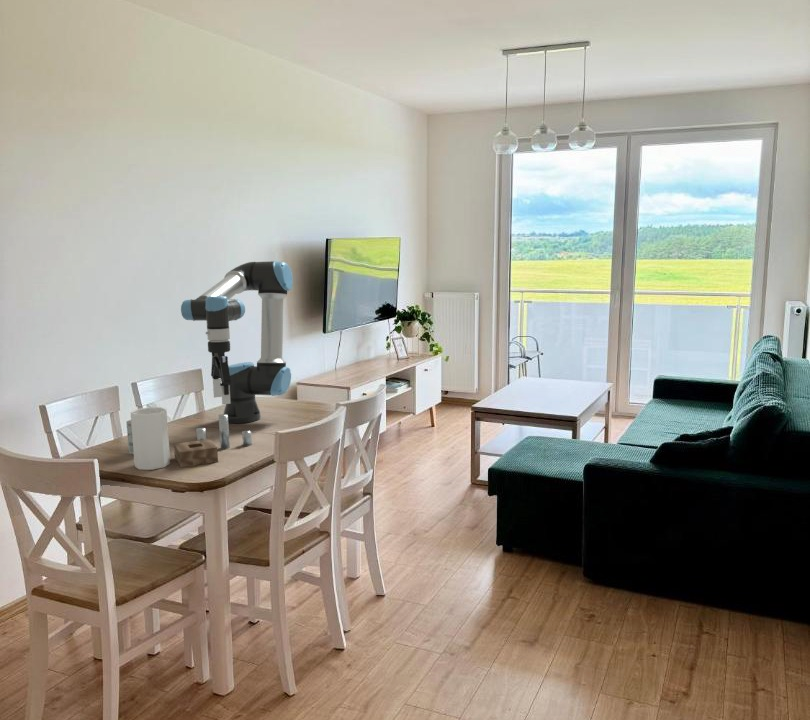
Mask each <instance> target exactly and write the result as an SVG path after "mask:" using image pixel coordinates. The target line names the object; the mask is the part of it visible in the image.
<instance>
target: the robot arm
mask: <svg viewBox="0 0 810 720" xmlns="http://www.w3.org/2000/svg"><path fill="white" fill-rule="evenodd" d="M293 278H294V277H293V273H292V270H291V267H290V266H289V264H288V263H286V262H284V261H278V260H276V261H273V260H271V261H250V262H246V263H243V264H240V265H238V266H236V267H234V268H233V269H230V271H227V273H226V274H225V275H224V278H222V279H221V280H220V281H219V282H217V283H215V284H214V285H213V286H212V287H210V288H209V289H207V290H206V291H205V292H204V293H202V294H201V295H200V296H198V297H197V298H195V299H185V300H184V301H182V302H181V303H182V304H181V305H180V314H181V316H182V318H183V319H184V320H187V321H193V322H195V321H201V322H202V321H206V331H205V335H207V336H206V337H207V340H208V342H207V351H208V352H209V353H211V371H210V373H211V374H210V375H211V377H212V387H213V389H212V390H213V398H221V405H225V406H224V410H223V413H222V414H228V424H244V423H245V424H246V423H247V424H248V423H251V422H257V421H259V420H260V419H261V411H260V409H259V408H260V407H259V406H258V403H257V401H256V396H271V397H273V396H275V397H276V396H283V395H285V394H286V393H287V392H288V390H289V388H290V385H291V381H292V373H291V371H292V370H291V369H290V367H289V366H287V362H286V360H285V359H284V358H283V344H284V343H283V337H284V335H283V333H284V300H285V298H286V297H288V292H289V291H291V290H292V289H293V285H294V279H293ZM246 291H247V292H248V291H257V295H258V296H259V297H260V298H261V328H260V329H261V330H260V331H261V333H260V334H261V335H260V337H261V339H260V358H259V360H257V361H256V366H255V364H254V362H252V361H246V362H239V363H235V364H230V365H229V361H228V360H229V358H228V356H227V355H226V356H225V353H227V352H230V351H231V341H230V339H231V338H230V333H231V332H230V322H232V321H238V320H240V319H242V318H243V317H244V315H245V314H246V313H245V312H246V307H245V304H244V303H243V301H242V300H240V299H238V298H237V299H236V298H233V297H234V296H236V295H239V294H241V293H244V292H246Z"/></svg>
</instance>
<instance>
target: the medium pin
mask: <svg viewBox="0 0 810 720" xmlns="http://www.w3.org/2000/svg"><path fill="white" fill-rule="evenodd" d="M195 430H196V431H195V432H196V441H199V440H206V439H207V429H206V427H198V428H196V429H195Z"/></svg>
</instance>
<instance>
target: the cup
mask: <svg viewBox="0 0 810 720" xmlns="http://www.w3.org/2000/svg"><path fill="white" fill-rule="evenodd" d="M130 420H131V426H132V438H133V451H134V454H133V460H134V461H133V462H134V467H135V468H136V469H138V470H139V471H142V470H143V471H153V470H154V471H155V470H158V469H163V468H166V467H167V466H169V465H170V464H171V455H170V454H171V452H170V440H169V429H168V413H167V408H164V407H159V406H158V407H156V406H154V407H153V406H152V407H151V406H149V407H143V408H142V407H141V408H138V409H135V410H132V411H130Z"/></svg>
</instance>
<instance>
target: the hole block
mask: <svg viewBox="0 0 810 720" xmlns="http://www.w3.org/2000/svg"><path fill="white" fill-rule="evenodd" d="M173 447H174V449H173V451H174V459H175V460H176V462H177V463H178V465H179V466H180V468H185V467H193V466H198V465H199V466H200V465H204V464H205V465H207V464H212V463H213V462H214V463H219V458H218V457H219V455H218V454H219V453H218V447H217V446H216V445H215V443H214V442H213V441H212V440H211V439H210V438H209V439H207V438H206V440H199V441H197V440H192V441H191V440H190V441H184V442H178V443H174V444H173ZM214 463H213V464H214Z"/></svg>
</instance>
